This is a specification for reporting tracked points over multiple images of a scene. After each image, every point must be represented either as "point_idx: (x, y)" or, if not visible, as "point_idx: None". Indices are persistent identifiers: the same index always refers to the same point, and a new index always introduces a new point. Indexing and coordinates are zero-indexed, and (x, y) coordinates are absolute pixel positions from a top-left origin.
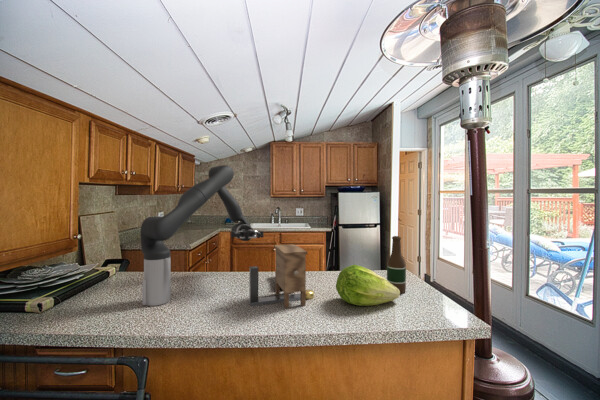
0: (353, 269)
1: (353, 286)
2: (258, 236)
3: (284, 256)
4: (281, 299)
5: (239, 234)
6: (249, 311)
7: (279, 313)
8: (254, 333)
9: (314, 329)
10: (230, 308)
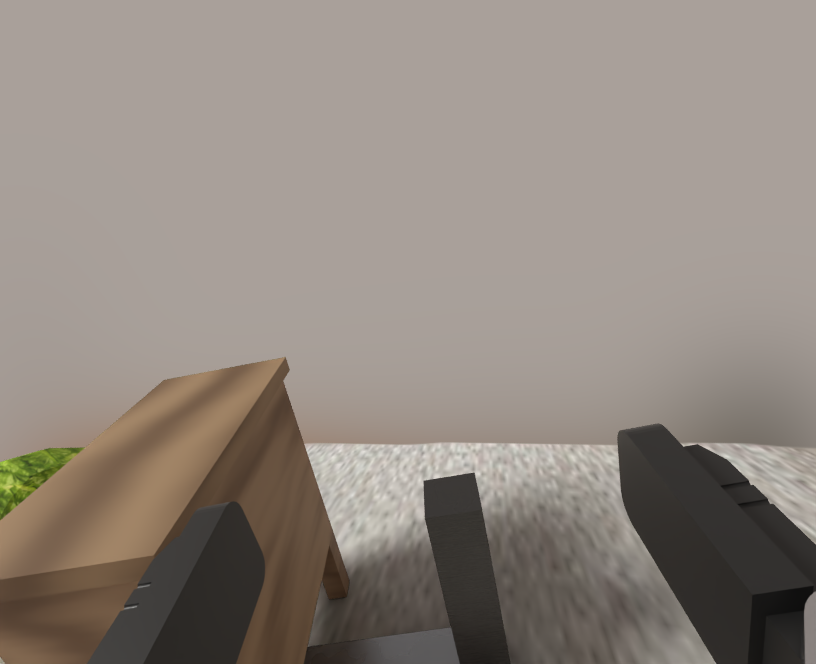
0: (51, 451)
1: None
2: (251, 542)
3: (279, 388)
4: (332, 644)
5: (623, 438)
6: (505, 568)
7: (387, 539)
8: (482, 446)
9: (333, 456)
10: (610, 613)
